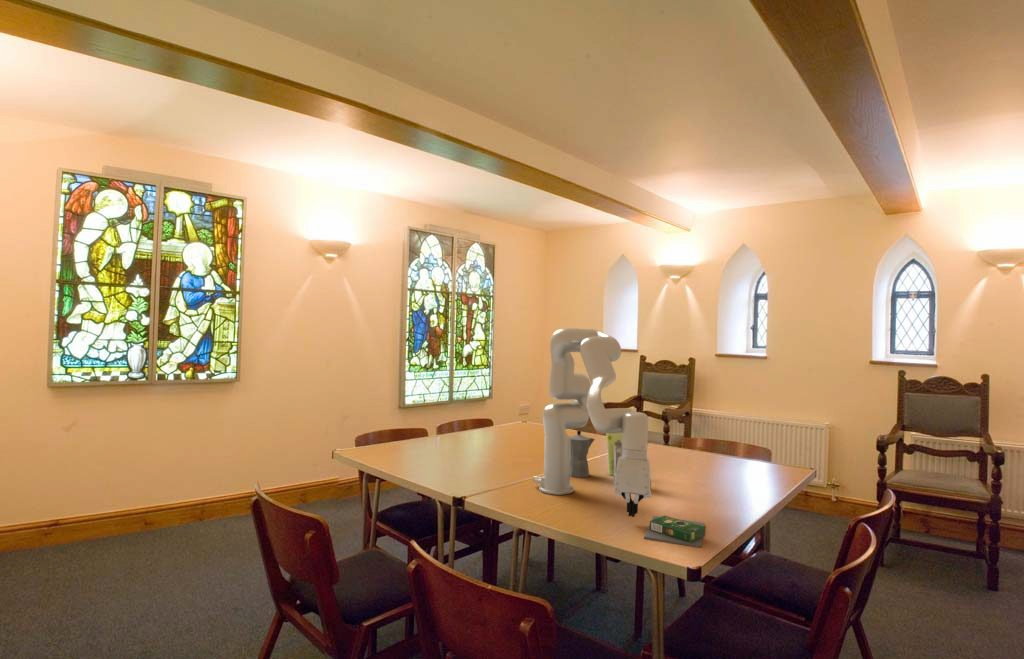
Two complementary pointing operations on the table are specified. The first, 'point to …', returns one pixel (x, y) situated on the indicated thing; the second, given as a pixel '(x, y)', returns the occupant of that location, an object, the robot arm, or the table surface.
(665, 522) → the coffee box
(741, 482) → the table surface
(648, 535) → the mat
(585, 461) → the coffeepot
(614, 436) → the tube
